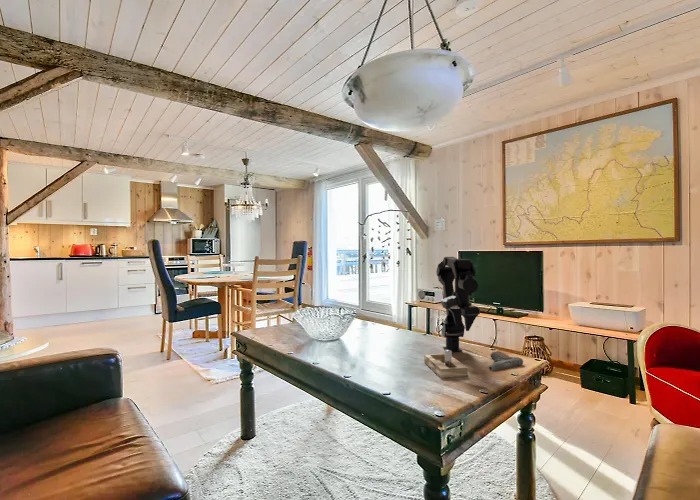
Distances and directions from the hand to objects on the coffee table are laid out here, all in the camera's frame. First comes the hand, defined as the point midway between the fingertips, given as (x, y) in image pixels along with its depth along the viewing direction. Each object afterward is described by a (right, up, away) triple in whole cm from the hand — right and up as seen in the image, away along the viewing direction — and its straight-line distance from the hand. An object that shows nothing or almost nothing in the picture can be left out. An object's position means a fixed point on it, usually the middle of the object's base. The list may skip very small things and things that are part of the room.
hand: (462, 328), depth 145 cm
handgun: (+12, -14, -4) cm, 19 cm away
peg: (-9, -13, -13) cm, 21 cm away
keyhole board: (-10, -13, -10) cm, 19 cm away
